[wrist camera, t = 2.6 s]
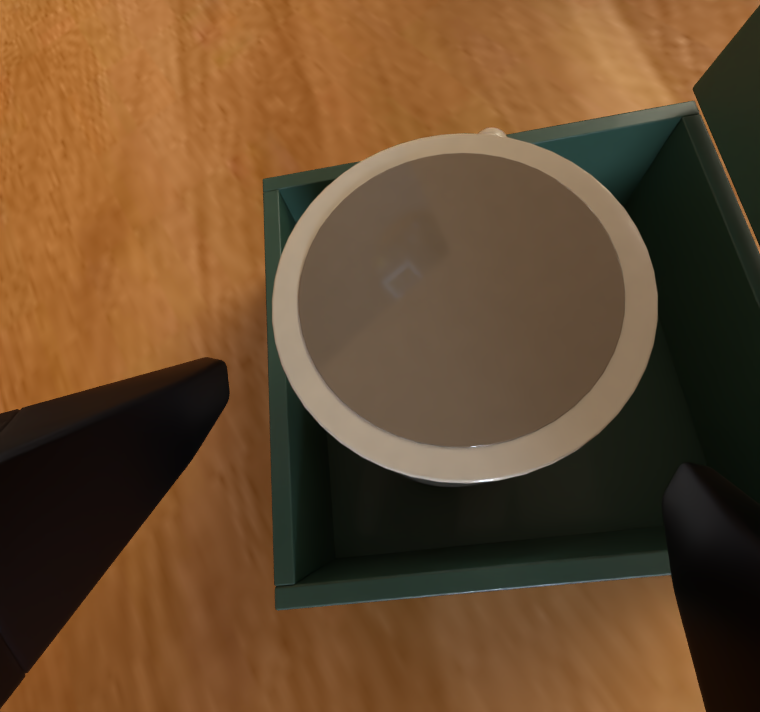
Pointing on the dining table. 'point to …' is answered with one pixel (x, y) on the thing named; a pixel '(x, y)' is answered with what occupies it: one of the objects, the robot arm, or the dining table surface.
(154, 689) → the dining table surface
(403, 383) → the cream hollow round container
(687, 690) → the dining table surface
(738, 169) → the chest lid
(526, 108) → the dining table surface
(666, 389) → the chest
